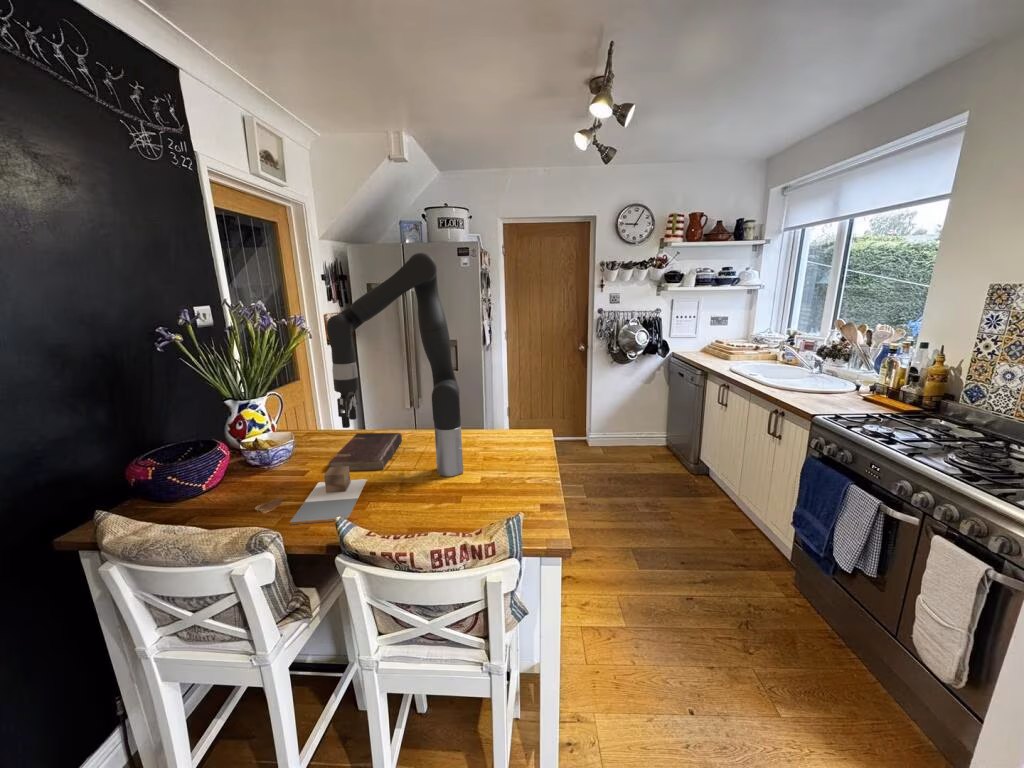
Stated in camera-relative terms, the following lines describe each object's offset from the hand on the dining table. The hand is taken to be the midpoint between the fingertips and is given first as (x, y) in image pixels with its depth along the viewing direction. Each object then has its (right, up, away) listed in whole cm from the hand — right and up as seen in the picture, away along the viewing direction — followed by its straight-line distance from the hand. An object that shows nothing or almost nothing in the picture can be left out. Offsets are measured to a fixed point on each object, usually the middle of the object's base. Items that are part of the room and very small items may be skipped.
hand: (349, 423), depth 137 cm
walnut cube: (-2, -21, -3) cm, 21 cm away
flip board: (-2, -24, -9) cm, 25 cm away
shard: (-19, -25, -11) cm, 34 cm away
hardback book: (-2, -16, +24) cm, 29 cm away
